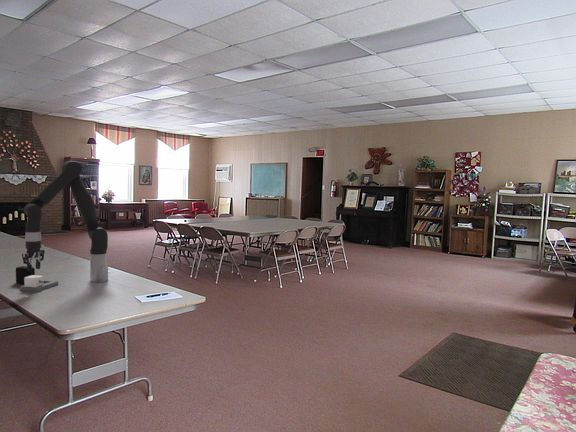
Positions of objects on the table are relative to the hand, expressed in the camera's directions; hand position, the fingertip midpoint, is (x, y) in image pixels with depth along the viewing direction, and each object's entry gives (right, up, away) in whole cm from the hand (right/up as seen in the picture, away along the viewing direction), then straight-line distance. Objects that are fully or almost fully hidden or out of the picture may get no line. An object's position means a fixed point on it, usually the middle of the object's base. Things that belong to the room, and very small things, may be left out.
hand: (33, 269), depth 229 cm
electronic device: (-13, -10, +12) cm, 20 cm away
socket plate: (0, -11, +5) cm, 12 cm away
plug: (0, -11, +1) cm, 11 cm away
